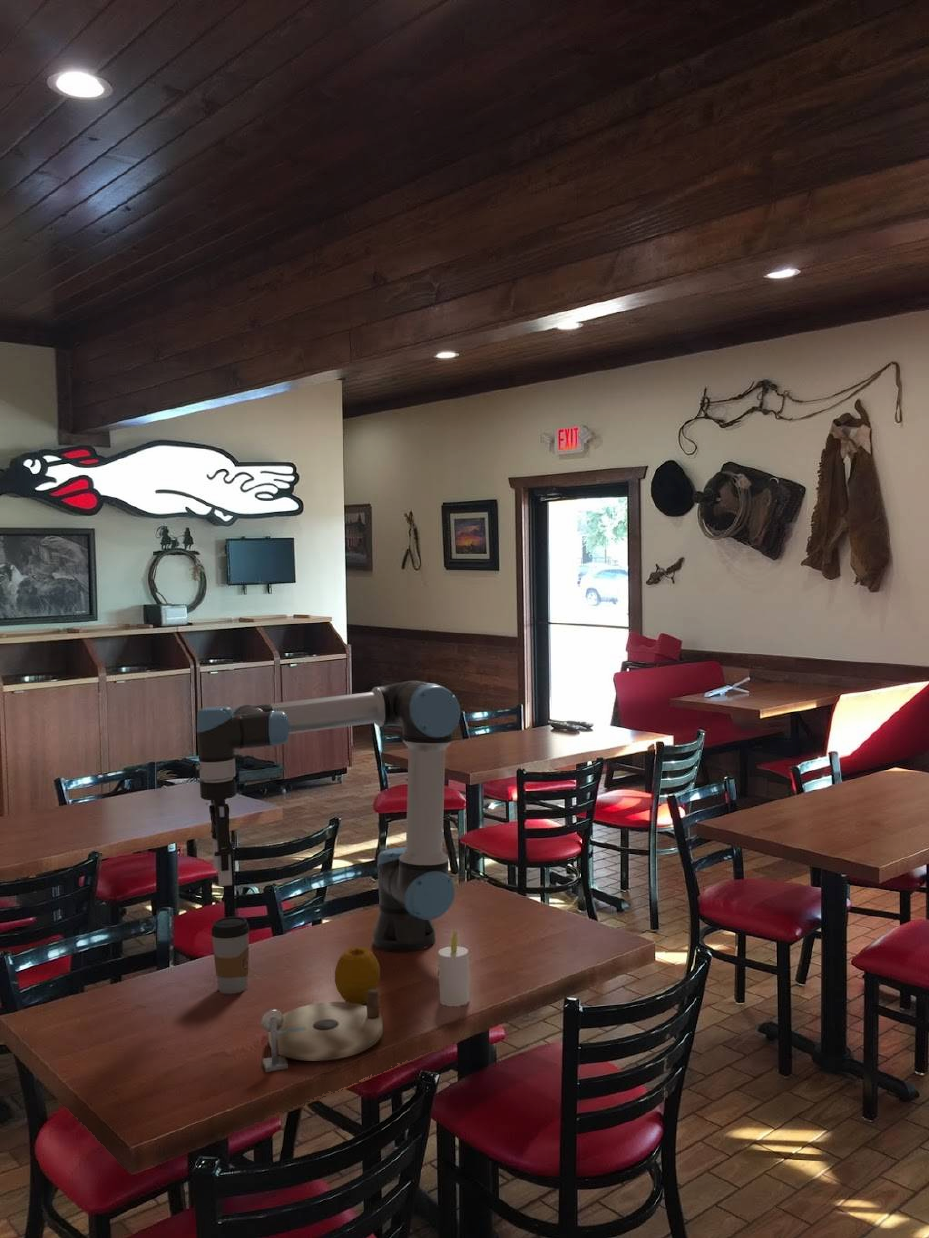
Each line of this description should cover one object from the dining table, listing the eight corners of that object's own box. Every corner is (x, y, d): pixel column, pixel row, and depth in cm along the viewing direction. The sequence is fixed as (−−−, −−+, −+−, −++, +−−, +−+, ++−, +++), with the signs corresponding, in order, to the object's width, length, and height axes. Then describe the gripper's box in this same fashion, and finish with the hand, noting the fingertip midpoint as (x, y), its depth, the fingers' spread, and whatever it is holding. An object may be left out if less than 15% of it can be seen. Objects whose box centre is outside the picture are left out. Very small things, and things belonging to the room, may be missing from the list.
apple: (386, 1008, 220) (384, 952, 220) (340, 1015, 218) (337, 959, 217) (376, 991, 230) (374, 937, 229) (332, 997, 227) (330, 943, 226)
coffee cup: (243, 997, 229) (240, 928, 228) (207, 995, 231) (204, 927, 230) (258, 982, 237) (255, 916, 236) (223, 980, 239) (220, 915, 238)
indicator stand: (284, 1058, 199) (282, 1006, 198) (287, 1068, 195) (285, 1014, 194) (262, 1062, 197) (260, 1010, 197) (266, 1072, 194) (263, 1018, 193)
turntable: (367, 1004, 220) (366, 971, 220) (395, 1047, 199) (394, 1011, 199) (261, 1022, 213) (259, 988, 213) (278, 1069, 192) (276, 1031, 192)
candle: (447, 992, 227) (445, 923, 227) (474, 997, 225) (472, 927, 224) (433, 1003, 222) (431, 933, 221) (461, 1008, 219) (459, 937, 218)
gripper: (196, 770, 238) (201, 864, 239) (203, 791, 214) (209, 895, 215) (230, 767, 240) (234, 860, 241) (241, 787, 216) (246, 890, 217)
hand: (222, 876), depth 228 cm, fingers open, 13 cm apart
